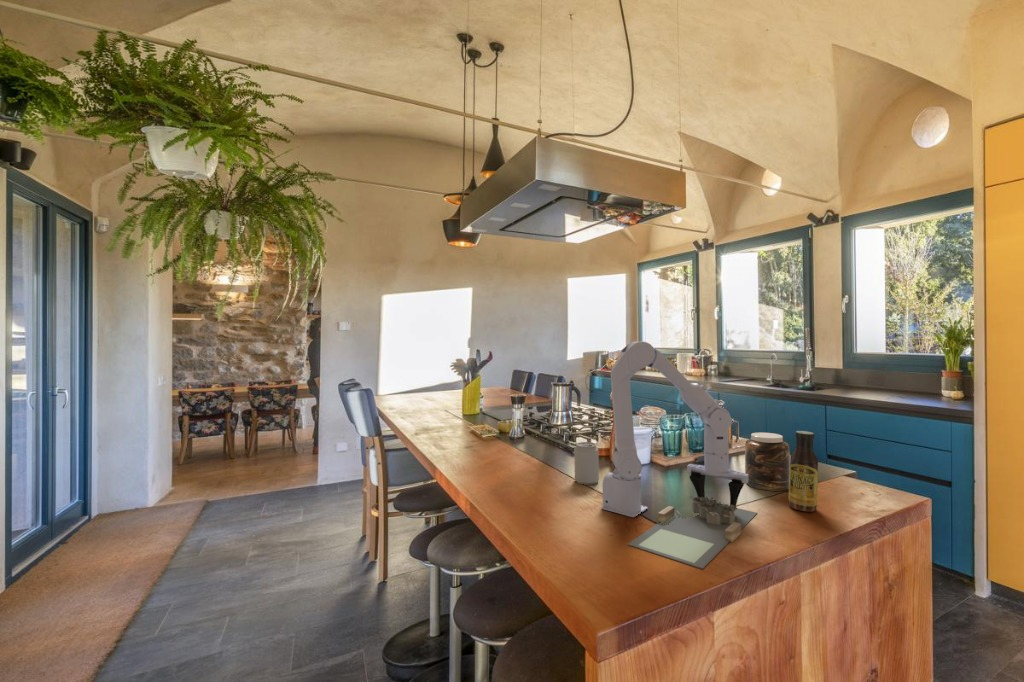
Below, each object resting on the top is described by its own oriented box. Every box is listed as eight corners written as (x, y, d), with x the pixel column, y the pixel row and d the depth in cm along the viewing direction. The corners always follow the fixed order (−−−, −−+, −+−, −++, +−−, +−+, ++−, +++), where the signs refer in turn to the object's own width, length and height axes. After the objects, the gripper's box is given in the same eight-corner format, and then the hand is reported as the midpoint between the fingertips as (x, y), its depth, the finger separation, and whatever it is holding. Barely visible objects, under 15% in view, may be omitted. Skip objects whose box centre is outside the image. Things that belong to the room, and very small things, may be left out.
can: (601, 485, 139) (600, 446, 139) (576, 485, 139) (575, 446, 139) (596, 478, 146) (596, 440, 146) (573, 478, 146) (572, 441, 146)
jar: (748, 476, 145) (748, 429, 145) (791, 483, 138) (791, 433, 138) (742, 486, 136) (741, 436, 135) (788, 494, 129) (787, 441, 129)
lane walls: (658, 521, 111) (658, 512, 111) (668, 514, 115) (668, 505, 115) (732, 542, 99) (732, 532, 99) (741, 533, 104) (740, 523, 104)
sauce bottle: (786, 509, 118) (785, 432, 118) (791, 502, 122) (790, 428, 122) (816, 515, 113) (815, 435, 113) (820, 508, 118) (819, 431, 118)
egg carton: (739, 525, 108) (739, 507, 108) (708, 526, 107) (708, 509, 107) (716, 508, 119) (716, 492, 119) (688, 509, 118) (688, 493, 118)
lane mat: (627, 544, 99) (627, 543, 99) (693, 499, 126) (693, 498, 126) (702, 569, 88) (702, 568, 88) (757, 513, 115) (757, 512, 115)
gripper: (751, 453, 115) (752, 507, 115) (693, 445, 125) (694, 495, 125) (743, 459, 110) (744, 515, 110) (683, 450, 119) (684, 502, 119)
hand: (717, 505), depth 117 cm, fingers open, 7 cm apart
